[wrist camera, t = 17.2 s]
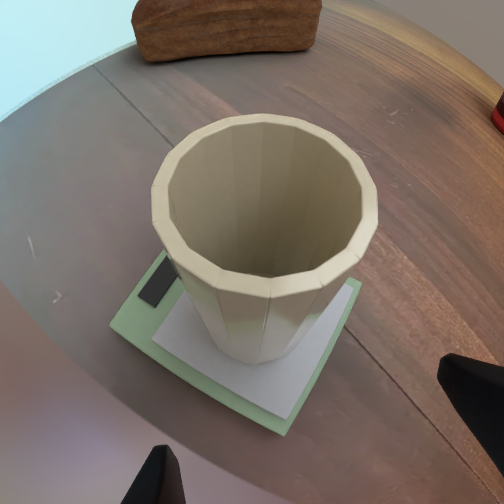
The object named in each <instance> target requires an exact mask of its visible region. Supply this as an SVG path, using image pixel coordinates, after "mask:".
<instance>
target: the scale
mask: <svg viewBox="0 0 504 504" xmlns="http://www.w3.org/2000/svg"><path fill="white" fill-rule="evenodd" d="M361 286H362V283H361V282H359V281H357V280H355V279H354V278H352V277H350V276H349V278H348V279H347V281H346V282H345V283H344V285H343V286H342V288H341V289H340V290H339V292H338V293H337V294H336V296H335V297H334V298H333V300H332V301H331V302H330V304H329V305H328V306H327V308H326V309H325V310H324V312H323V313H322V314H321V316H320V317H319V318H318V320H317V321H316V322H315V323H314V325H313V326H312V327H311V329H310V330H309V331H308V332H307V334H306V335H305V336H304V338H303V339H302V340H301V341H300V343H299V344H298V345H297V346H296V347H295V348H294V349H293V350H292V351H291V352H289V353H288V354H287V355H286V356H284V357H283V358H281V359H279V360H277V361H274V362H271V363H268V364H261V365H251V364H245V363H241V362H238V361H236V360H233V359H232V358H230V357H228V356H227V355H225V354H224V353H223V352H222V351H221V350H220V349H219V348H217V346H216V345H215V343H214V342H213V340H212V338H211V337H210V335H209V334H208V332H207V330H206V329H205V327H204V325H203V323H202V321H201V319H200V318H199V316H198V314H197V312H196V310H195V308H194V306H193V305H192V303H191V301H190V299H189V297H188V295H187V293H186V291H185V289H184V288H183V286H182V284H181V282H180V280H179V278H178V276H177V274H176V272H175V270H174V268H173V266H172V264H171V262H170V260H169V258H168V256H167V254H166V252H165V250H164V249H163V250H162V252H161V253H160V254H159V256H158V257H157V258H156V260H155V261H154V262H153V264H152V265H151V266H150V268H149V269H148V270H147V272H146V273H145V274H144V276H143V277H142V279H141V280H140V281H139V283H138V284H137V285H136V287H135V288H134V290H133V291H132V292H131V294H130V295H129V297H128V298H127V299H126V301H125V302H124V304H123V305H122V306H121V308H120V309H119V311H118V312H117V314H116V315H115V317H114V318H113V319H112V321H111V322H110V324H109V327H111V328H112V329H113V330H115V331H116V332H117V333H118V334H120V335H121V336H122V337H124V338H125V339H126V340H128V341H129V342H130V343H132V344H133V345H134V346H136V347H137V348H138V349H140V350H141V351H142V352H144V353H145V354H147V355H148V356H149V357H151V358H152V359H154V360H155V361H156V362H158V363H159V364H161V365H162V366H164V367H165V368H167V369H168V370H170V371H171V372H173V373H174V374H176V375H177V376H179V377H180V378H182V379H183V380H185V381H186V382H188V383H189V384H191V385H193V386H194V387H196V388H197V389H199V390H201V391H202V392H204V393H205V394H207V395H209V396H210V397H212V398H214V399H215V400H217V401H219V402H220V403H222V404H224V405H226V406H227V407H229V408H231V409H232V410H234V411H236V412H238V413H240V414H241V415H243V416H245V417H247V418H249V419H251V420H252V421H254V422H256V423H258V424H260V425H262V426H264V427H266V428H268V429H270V430H272V431H274V432H276V433H278V434H280V435H282V436H285V435H286V433H287V431H288V430H289V428H290V426H291V425H292V423H293V421H294V420H295V418H296V416H297V414H298V413H299V411H300V409H301V407H302V406H303V404H304V402H305V400H306V398H307V397H308V395H309V393H310V391H311V389H312V388H313V386H314V384H315V382H316V380H317V378H318V376H319V374H320V373H321V371H322V369H323V367H324V365H325V363H326V361H327V359H328V357H329V355H330V353H331V351H332V349H333V347H334V345H335V343H336V341H337V339H338V337H339V335H340V333H341V330H342V328H343V326H344V324H345V322H346V320H347V318H348V315H349V313H350V311H351V309H352V307H353V304H354V302H355V300H356V298H357V295H358V293H359V291H360V288H361Z"/></svg>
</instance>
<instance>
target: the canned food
mask: <svg viewBox="0 0 504 504" xmlns="http://www.w3.org/2000/svg"><path fill="white" fill-rule="evenodd" d="M492 120H493V122H494V124H495V125H496V127H497V128H498V129H499V130H500V131H501V132H502V133H503V134H504V92H503V94H502V96H501V98H500V100H499V101H498V103H497V105H496V107H495V109H494V110H493V113H492Z"/></svg>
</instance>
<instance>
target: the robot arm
mask: <svg viewBox="0 0 504 504" xmlns="http://www.w3.org/2000/svg"><path fill="white" fill-rule="evenodd" d="M437 379H438V382H439V383H440V385H441V386H442V388H443V390H444V391H445V393H446V395H447V396H448V398H449V400H450V401H451V403H452V405H453V407H454V408H455V410H456V411H457V413H458V414H459V416H460V417H461V418H462V420H463V421H464V422H465V424H466V425H467V426H468V428H469V429H470V430H471V432H472V433H473V434H474V436H475V437H476V439H477V440H478V441H479V443H480V444H481V446H482V447H483V448H484V450H485V451H486V453H487V454H488V455H489V457H490V458H491V460H492V461H493V462H494V464H495V465H496V467H497V468H498V470H499V471H500V473H501V474H502V476H503V477H504V367H501V366H498V365H494V364H490V363H486V362H483V361H479V360H475V359H472V358H468V357H464V356H461V355H457V354H454V353H449V354H447V355H445V356H443V357H442V358H441V359H440V363H439V368H438V373H437ZM121 504H186V501H185V497H184V490H183V485H182V480H181V474H180V467H179V463H178V460H177V458H176V457H175V455H174V454H173V452H172V450H171V449H170V447H169V446H168V445H158V446H155V447H153V449H152V451H151V452H150V454H149V456H148V458H147V459H146V461H145V463H144V464H143V466H142V468H141V470H140V471H139V473H138V475H137V476H136V478H135V480H134V482H133V483H132V485H131V487H130V488H129V490H128V492H127V494H126V495H125V497H124V499H123V500H122V502H121Z"/></svg>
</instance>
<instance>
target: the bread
mask: <svg viewBox="0 0 504 504" xmlns="http://www.w3.org/2000/svg"><path fill="white" fill-rule="evenodd" d="M321 9H322V1H321V0H139V1H138V2H137V4H136V6H135V8H134V10H133V14H132V19H131V23H132V26H133V29H134V33H135V37H136V40H137V44H138V46H139V48H140V51H141V53H142V55H143V57H144V59H145V60H147V61H153V62H156V61H171V60H176V59H181V58H186V57H193V56H202V55H214V54H231V53H241V52H251V51H299V50H305V49H308V48H310V47H311V46H312V45H313V44H314V41H315V36H316V32H317V27H318V22H319V16H320V11H321Z"/></svg>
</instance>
